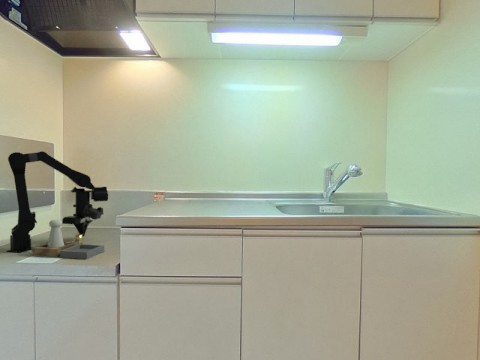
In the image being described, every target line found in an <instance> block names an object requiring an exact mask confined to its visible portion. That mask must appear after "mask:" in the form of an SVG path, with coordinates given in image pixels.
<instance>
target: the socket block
mask: <svg viewBox="0 0 480 360" xmlns="http://www.w3.org/2000/svg"><path fill="white" fill-rule="evenodd" d="M75 245H78V243H77V242H72V241H67V242H65V243H64V246H62V247H59V248H49V247H47V246H48V242H47V243H44V244H41V245H38V246H32V247H33V248H32V249H31V255H32V257H45V256H47V258H48V257H49V258H61V257H60V251H61V250H64V249H67V248H70V247H73V246H75Z"/></svg>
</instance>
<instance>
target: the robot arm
mask: <svg viewBox="0 0 480 360" xmlns="http://www.w3.org/2000/svg"><path fill="white" fill-rule="evenodd" d="M7 161H8V164H9V166H10V169H11V172H12V174H13V178H14V184H15V191H16V193H15V194H16V198H17V205H18V215H17V223H16V225H14V226H13V228H11V231H10V232H11V235H10V236H9V238H10V239H9V241H10V248H9V249H7V250H6V252H7V253H8V252H9V253H23V252H26V251H29V250H32V248H33V247H34V246H32V238H31V234H30V232H32V231H33V230H34V229H35V227H36V224H38V221H37V220H36V211H31V209H30V202H29V196H28V188H27V181H26V165H27V164H28V163H35V162H42V163H44V164H45V165H47V166H48V167H50V168H52V169H54V170H55V171H57V172H58V173H61V174H62V175H64V176H65V177H67V178H68V179H69V180H70V181H71V182H72V183H74V184H75V185H76V186H77V187H79V188H77V187H76V186H73V188H72V189H71V190H70V193H75V204H72V205H73V206H72V207H73V208H74V209H75V213H73V214H72V215H68V216H64V217H62V219H61V221H62V225H64V224H65V225H74V227H75V228H76V230H77V232H78V234H83V237H85V236H86V233H87V229H88V226H89V225H90V224H91V223H92V222H93V221H94V220H95V221H96V220H97V219H101V217H102V215H104V208H103V207H101V206H99V207H97V208H95V207H94V206H93V204H92V203H91V202H90V201H91V200H93V202H94V203H95V202H96V203H97V202H108V201H109V194H108V189H107V186H95V185H94V184H93V183H92V182H91V181H92V179H91V177H90V176H89V175H88V174H85V173H83V172H80V171H77V170H75V169H73V168H71V167H69V166H67V165H66V164H64V163H63V162H61V161H60V160H57V159H56V158H54V157H52V156H51V155H50V154H48V153H47V152H46V151H42V150H41V151H38V152H31V153H22V152H18V151H17V152H12V153H10V154H9V155H8V157H7ZM86 189H88V190H86Z"/></svg>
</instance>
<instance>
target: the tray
mask: <svg viewBox="0 0 480 360" xmlns="http://www.w3.org/2000/svg"><path fill="white" fill-rule="evenodd" d="M104 252H105V245H103V244H89V243H88V244H87V243H83V244H78V245H75V246H73V247H70V248H67V249H64V250H61V251H60V257H59V258H64V259H65V258H66V259H78V260H79V259H80V260H88V259H91V258H93V257H94V256H97V255H99V254H102V253H104Z"/></svg>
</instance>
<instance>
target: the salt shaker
mask: <svg viewBox="0 0 480 360" xmlns="http://www.w3.org/2000/svg"><path fill="white" fill-rule="evenodd" d="M48 226H49V227H50V233H49V237H48V242H47V243H48V246H47V247H49V248H59V247H62V246H65V243H64V239H63V233H62V229H61V228H62V227H61V226H63V224H62V219H52V220H50V221H49V224H48Z"/></svg>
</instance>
